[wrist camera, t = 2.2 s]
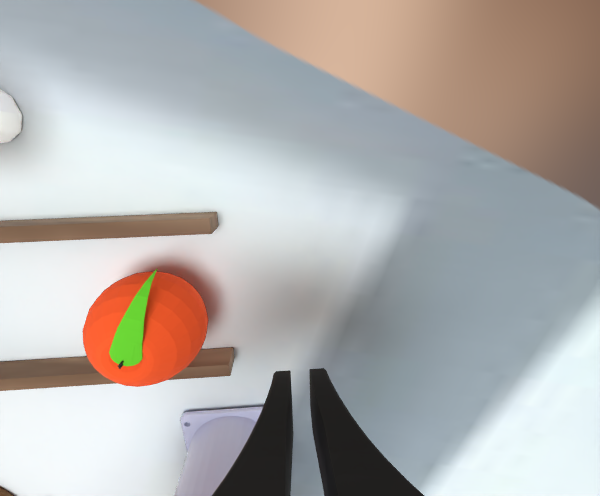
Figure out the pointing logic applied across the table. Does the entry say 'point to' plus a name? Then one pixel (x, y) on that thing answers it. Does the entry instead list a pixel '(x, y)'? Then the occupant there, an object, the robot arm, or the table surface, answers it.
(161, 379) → the clementine
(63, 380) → the lane rails
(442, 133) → the table surface
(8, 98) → the milkshake
